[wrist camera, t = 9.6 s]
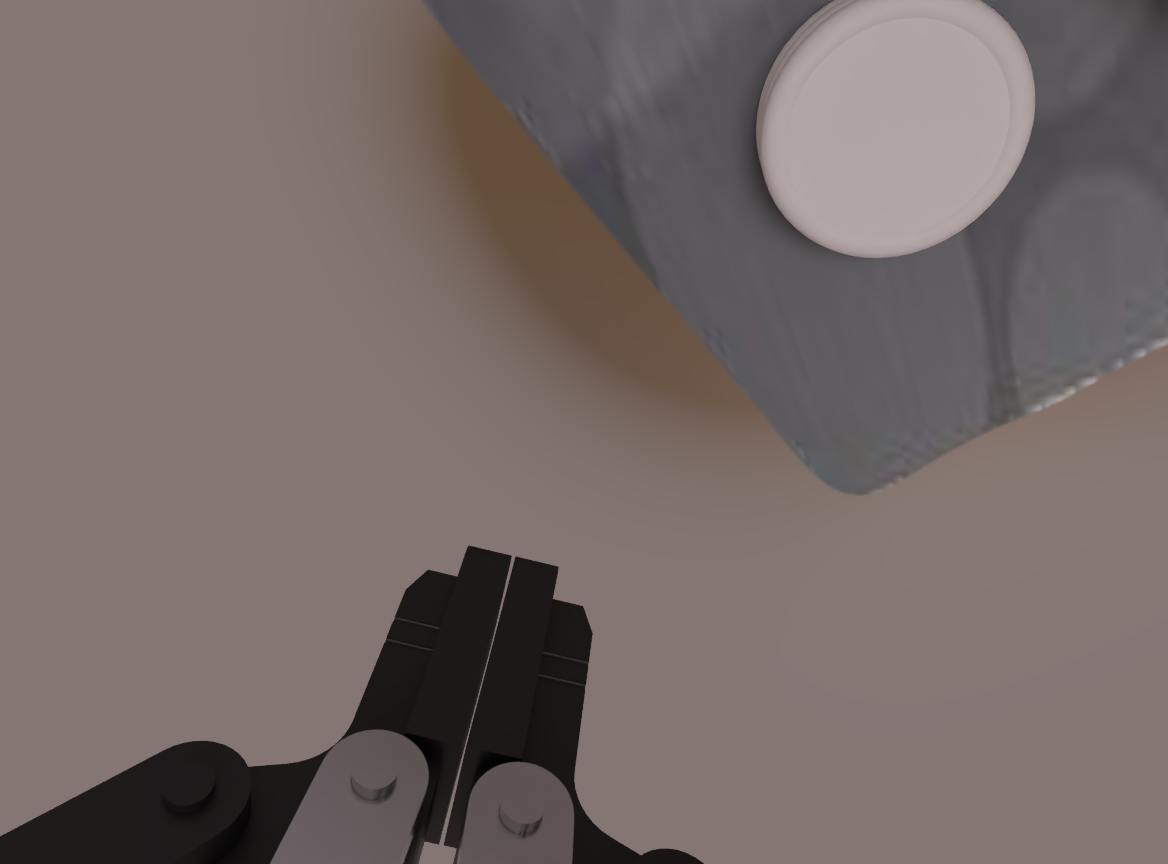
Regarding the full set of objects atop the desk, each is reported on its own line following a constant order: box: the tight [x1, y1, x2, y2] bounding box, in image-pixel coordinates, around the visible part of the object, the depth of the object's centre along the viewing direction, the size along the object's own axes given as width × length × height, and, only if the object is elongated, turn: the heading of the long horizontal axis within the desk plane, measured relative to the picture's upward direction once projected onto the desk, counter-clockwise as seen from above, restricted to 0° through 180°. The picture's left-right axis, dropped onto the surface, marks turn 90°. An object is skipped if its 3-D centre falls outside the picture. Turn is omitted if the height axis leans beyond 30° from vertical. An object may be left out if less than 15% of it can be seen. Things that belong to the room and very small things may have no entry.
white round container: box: [756, 0, 1035, 258], centre depth 33 cm, size 10×10×4 cm
